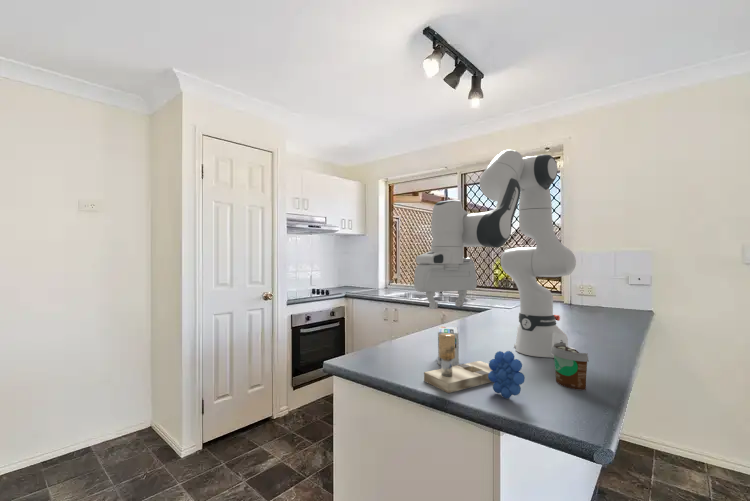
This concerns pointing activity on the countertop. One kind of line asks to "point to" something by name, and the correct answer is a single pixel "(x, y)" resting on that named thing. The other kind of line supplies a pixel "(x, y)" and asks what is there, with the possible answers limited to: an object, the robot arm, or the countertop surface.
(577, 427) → the countertop surface
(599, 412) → the countertop surface
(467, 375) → the wooden block with hole
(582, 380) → the food container
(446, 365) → the gold rounded piece
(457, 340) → the light bulb box
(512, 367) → the grapes
